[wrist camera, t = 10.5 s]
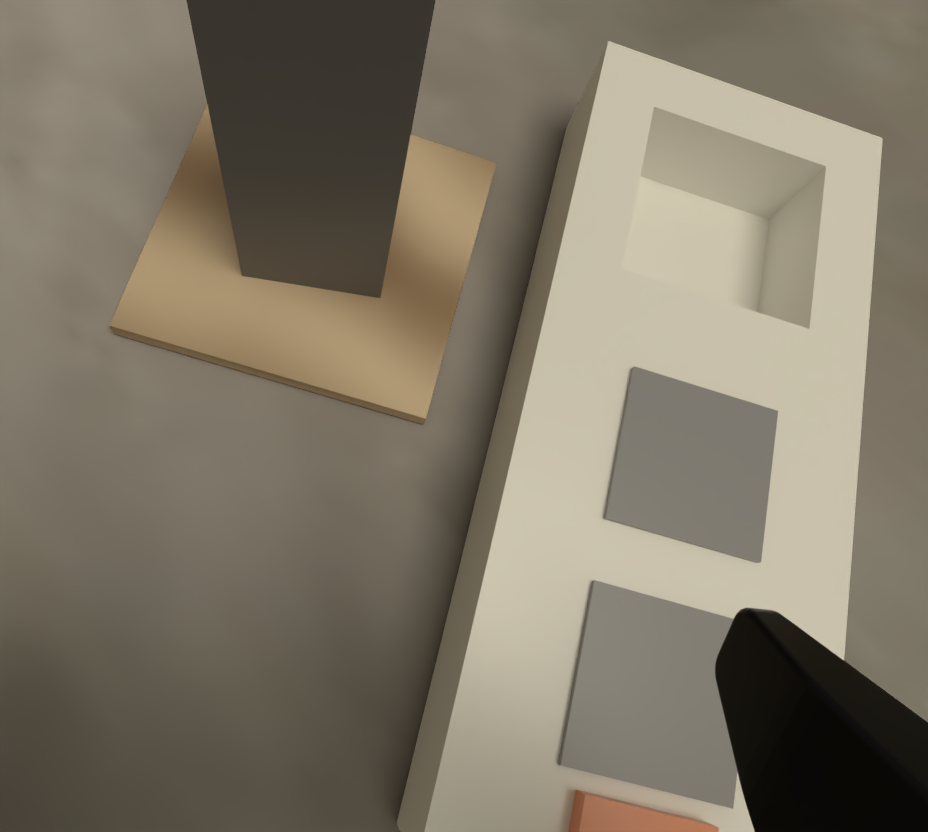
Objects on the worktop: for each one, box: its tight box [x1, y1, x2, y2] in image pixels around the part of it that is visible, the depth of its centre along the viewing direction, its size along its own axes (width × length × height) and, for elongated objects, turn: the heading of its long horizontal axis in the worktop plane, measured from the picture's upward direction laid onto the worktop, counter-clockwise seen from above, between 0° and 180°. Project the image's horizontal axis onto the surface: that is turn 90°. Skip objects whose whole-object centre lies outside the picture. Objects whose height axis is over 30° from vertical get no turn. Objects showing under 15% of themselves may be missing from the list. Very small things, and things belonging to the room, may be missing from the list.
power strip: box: [397, 41, 882, 832], centre depth 21 cm, size 22×9×5 cm, turn 164°
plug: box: [187, 0, 435, 298], centre depth 16 cm, size 3×4×14 cm
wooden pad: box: [109, 104, 496, 424], centre depth 23 cm, size 9×9×1 cm
